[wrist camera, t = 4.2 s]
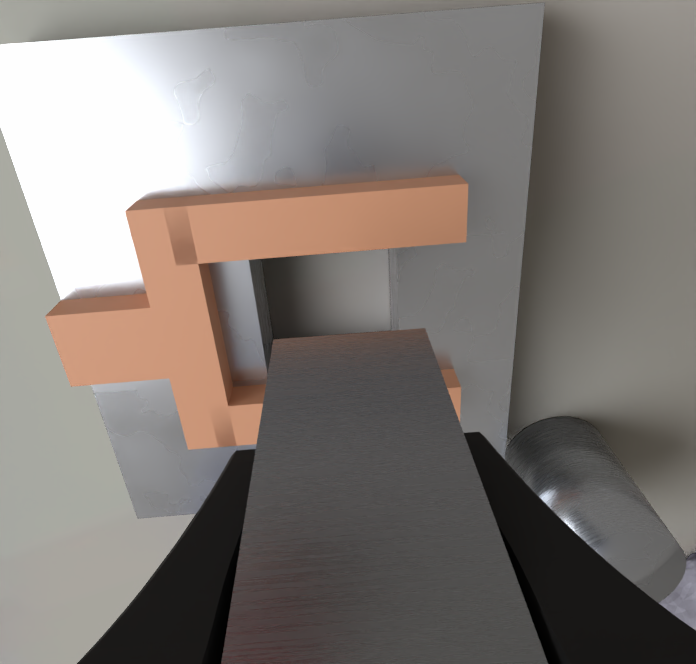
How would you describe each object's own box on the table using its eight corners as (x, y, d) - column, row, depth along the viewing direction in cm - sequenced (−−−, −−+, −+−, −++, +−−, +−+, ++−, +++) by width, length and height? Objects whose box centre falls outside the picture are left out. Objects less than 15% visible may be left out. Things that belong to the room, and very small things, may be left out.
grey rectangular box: (424, 446, 14) (533, 871, 7) (290, 457, 14) (257, 895, 7) (425, 327, 12) (568, 721, 5) (273, 339, 12) (207, 750, 5)
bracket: (452, 407, 19) (459, 427, 18) (108, 435, 19) (97, 457, 18) (458, 174, 15) (468, 183, 14) (29, 209, 15) (9, 220, 14)
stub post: (595, 491, 25) (670, 614, 19) (498, 499, 25) (547, 624, 19) (611, 412, 23) (700, 526, 17) (505, 421, 23) (562, 537, 17)
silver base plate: (484, 445, 23) (502, 488, 21) (155, 472, 23) (137, 518, 21) (512, 8, 16) (544, 2, 13) (22, 46, 15) (-28, 46, 13)
